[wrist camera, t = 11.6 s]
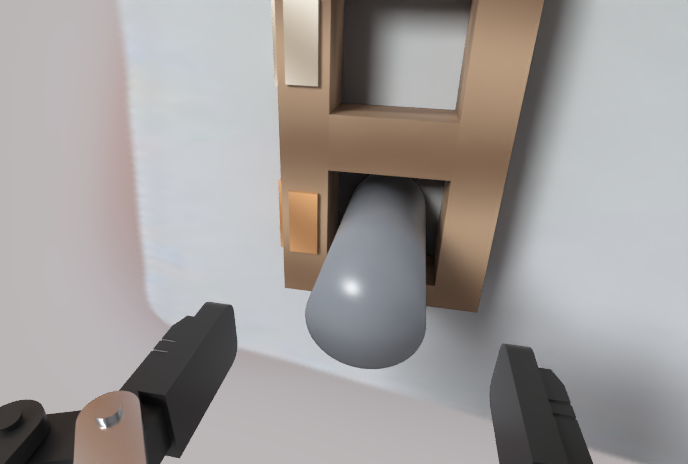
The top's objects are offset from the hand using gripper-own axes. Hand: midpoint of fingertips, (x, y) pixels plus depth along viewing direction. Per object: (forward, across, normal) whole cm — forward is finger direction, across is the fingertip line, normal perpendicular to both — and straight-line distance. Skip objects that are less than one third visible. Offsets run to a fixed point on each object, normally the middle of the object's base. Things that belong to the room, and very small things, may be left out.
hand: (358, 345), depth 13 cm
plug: (+11, 0, 0) cm, 11 cm away
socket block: (+11, 0, -4) cm, 12 cm away
